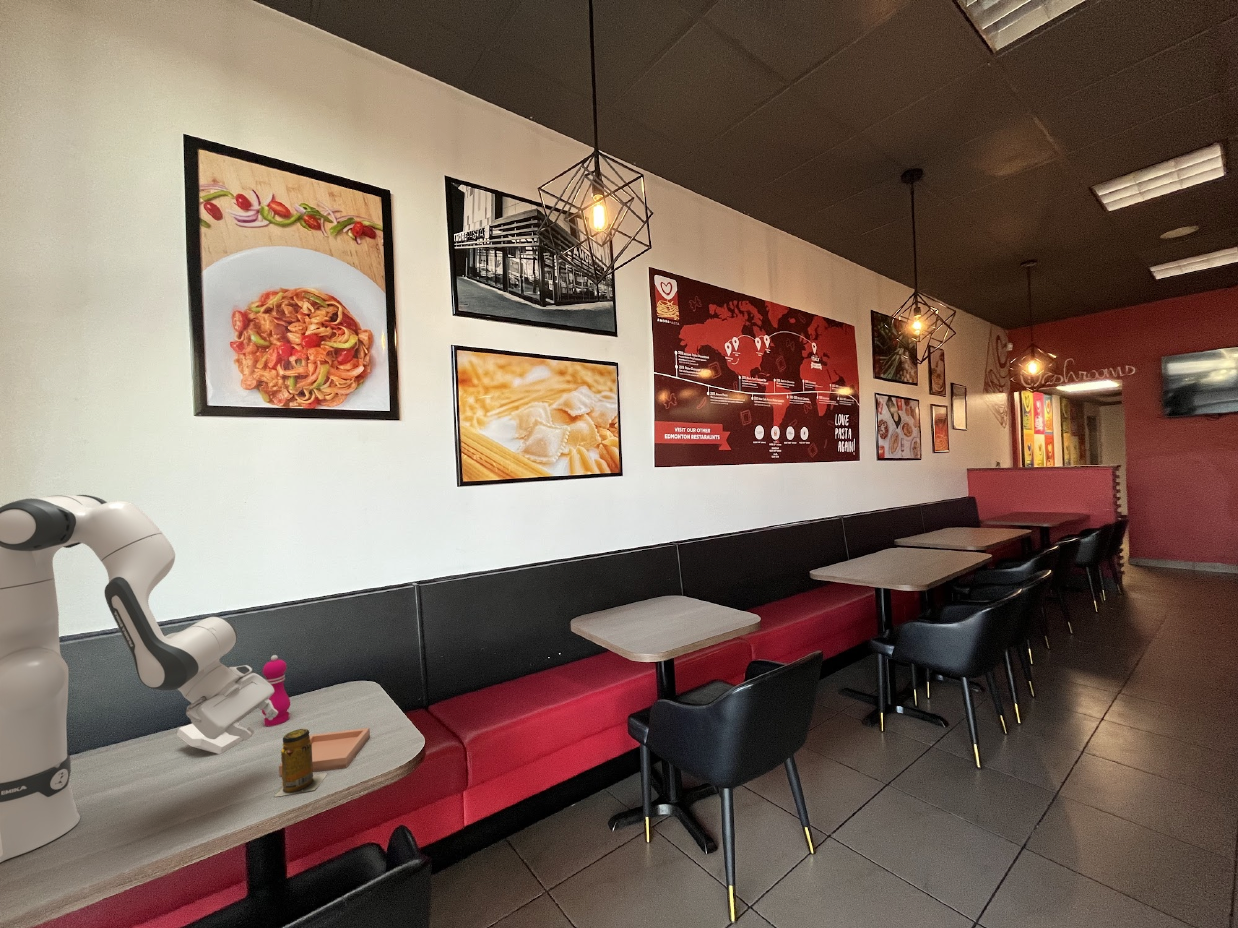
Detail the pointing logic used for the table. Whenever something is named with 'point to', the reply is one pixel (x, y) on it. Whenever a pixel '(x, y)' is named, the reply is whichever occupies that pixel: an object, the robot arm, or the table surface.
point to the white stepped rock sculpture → (207, 740)
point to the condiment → (298, 764)
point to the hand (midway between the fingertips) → (263, 726)
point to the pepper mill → (277, 690)
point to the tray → (336, 748)
